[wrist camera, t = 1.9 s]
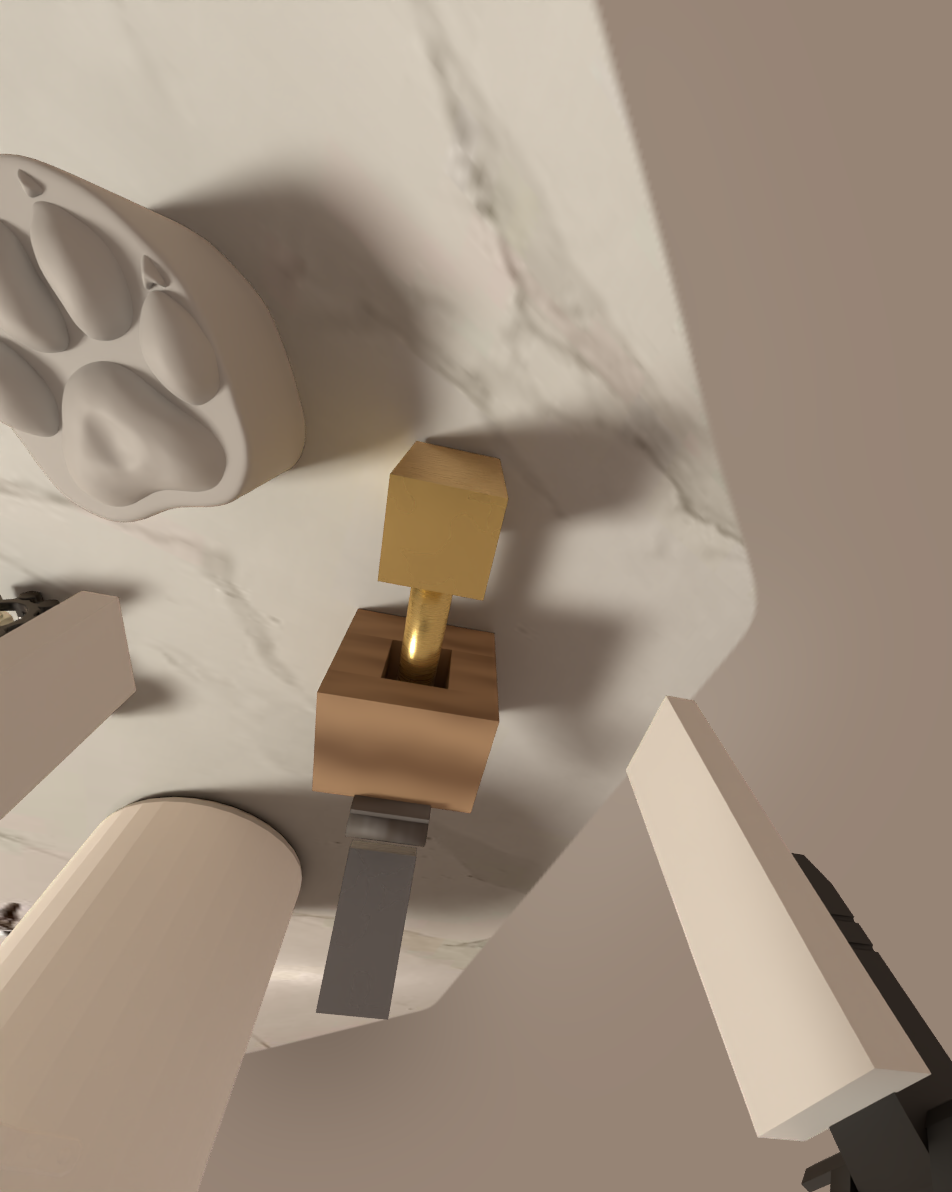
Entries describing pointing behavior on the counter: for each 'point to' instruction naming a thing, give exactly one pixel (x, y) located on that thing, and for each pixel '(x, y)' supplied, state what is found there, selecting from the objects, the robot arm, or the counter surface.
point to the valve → (22, 610)
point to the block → (404, 728)
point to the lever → (367, 931)
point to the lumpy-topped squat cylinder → (134, 353)
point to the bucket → (138, 997)
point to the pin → (439, 542)
